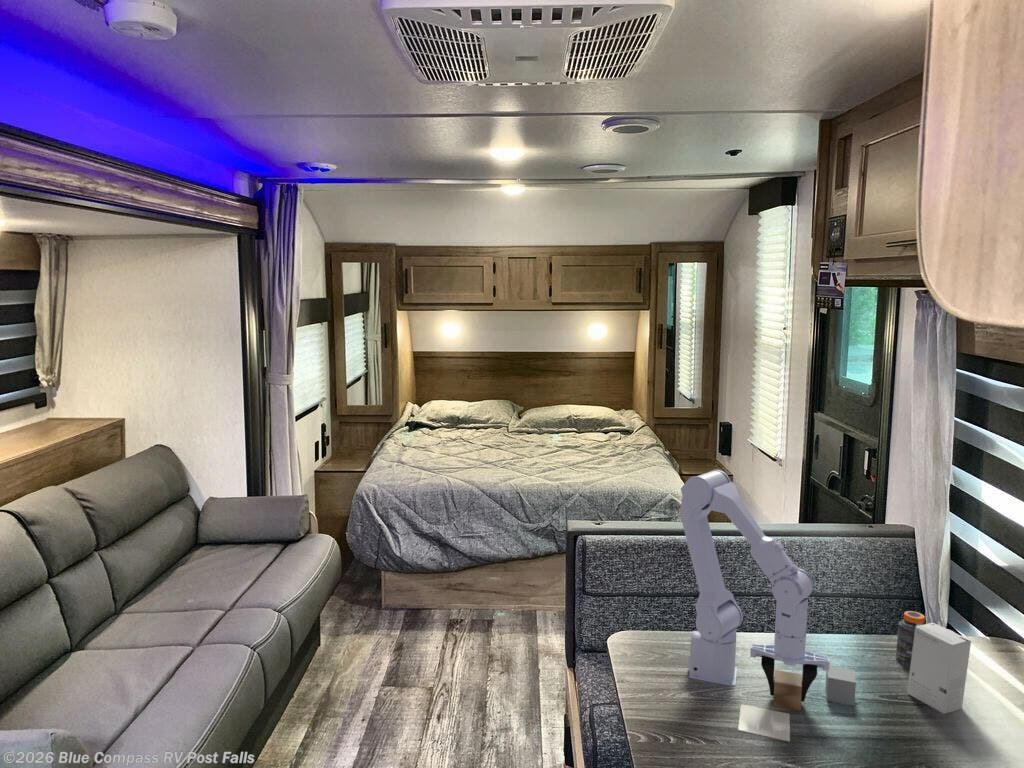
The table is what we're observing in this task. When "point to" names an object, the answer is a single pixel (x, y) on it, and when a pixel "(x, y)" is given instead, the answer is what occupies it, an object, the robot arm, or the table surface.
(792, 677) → the walnut block
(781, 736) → the white square plate
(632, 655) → the table surface
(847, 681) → the slate block
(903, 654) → the pill bottle
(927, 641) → the skincare box
